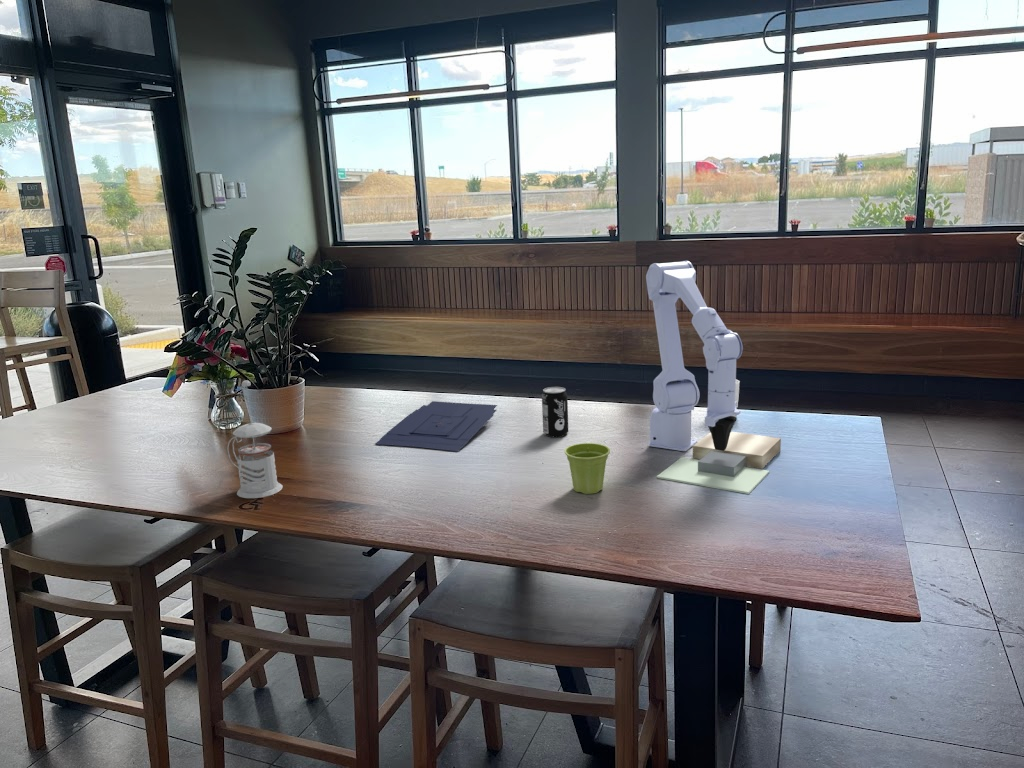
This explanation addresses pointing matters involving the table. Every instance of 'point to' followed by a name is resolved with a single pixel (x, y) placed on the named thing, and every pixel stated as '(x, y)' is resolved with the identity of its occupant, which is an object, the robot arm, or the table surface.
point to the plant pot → (587, 466)
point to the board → (742, 448)
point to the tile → (722, 463)
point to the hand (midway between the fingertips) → (720, 449)
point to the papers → (439, 426)
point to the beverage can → (555, 411)
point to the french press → (255, 461)
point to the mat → (713, 476)
